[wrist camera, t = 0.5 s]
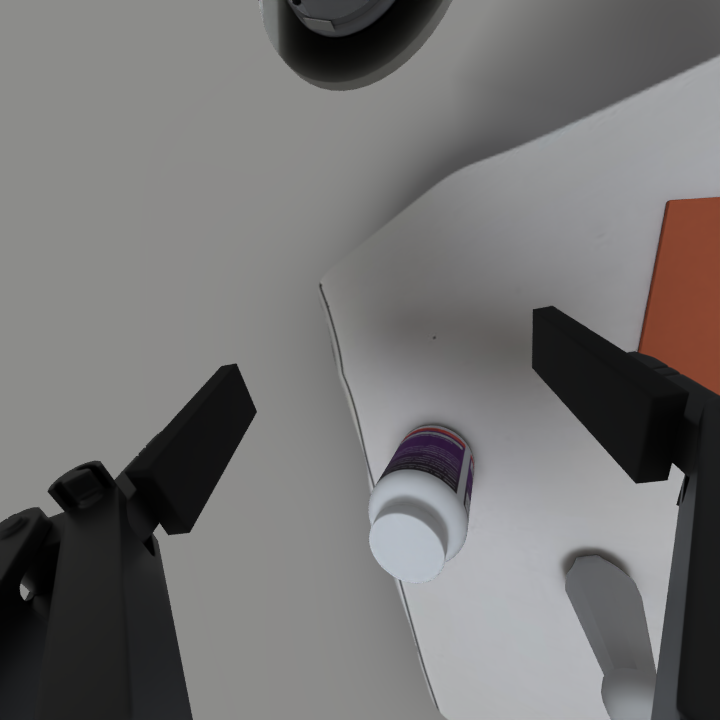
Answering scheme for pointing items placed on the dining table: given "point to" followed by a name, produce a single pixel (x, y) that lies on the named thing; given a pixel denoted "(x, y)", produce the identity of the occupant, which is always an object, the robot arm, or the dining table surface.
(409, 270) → the dining table surface
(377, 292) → the dining table surface
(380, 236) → the dining table surface
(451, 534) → the pill bottle
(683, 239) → the terracotta mat
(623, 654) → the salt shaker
